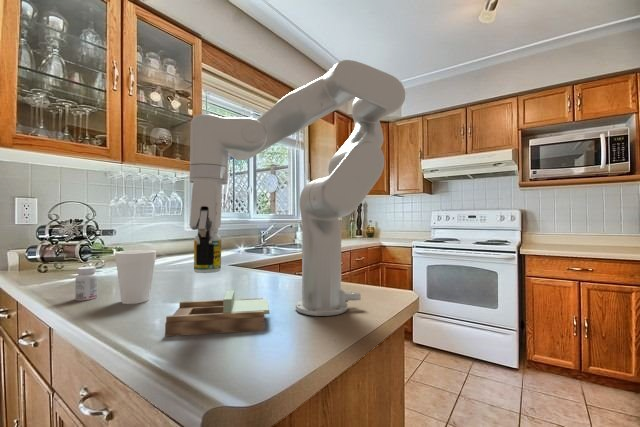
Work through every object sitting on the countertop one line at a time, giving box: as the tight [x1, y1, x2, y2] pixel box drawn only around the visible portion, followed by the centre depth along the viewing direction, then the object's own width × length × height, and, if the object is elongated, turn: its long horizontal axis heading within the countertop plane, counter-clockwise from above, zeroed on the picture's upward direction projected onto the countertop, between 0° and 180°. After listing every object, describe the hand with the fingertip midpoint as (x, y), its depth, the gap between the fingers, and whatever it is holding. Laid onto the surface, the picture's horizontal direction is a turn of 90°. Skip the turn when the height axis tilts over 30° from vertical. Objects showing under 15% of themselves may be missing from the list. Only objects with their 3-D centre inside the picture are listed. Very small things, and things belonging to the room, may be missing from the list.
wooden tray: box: [164, 297, 265, 337], centre depth 65 cm, size 18×12×3 cm, turn 102°
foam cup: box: [114, 249, 157, 305], centre depth 83 cm, size 10×9×13 cm
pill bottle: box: [74, 266, 98, 301], centre depth 85 cm, size 5×5×8 cm
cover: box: [222, 289, 270, 315], centre depth 66 cm, size 9×9×3 cm
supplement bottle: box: [193, 226, 222, 274], centre depth 65 cm, size 5×5×10 cm
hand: (207, 261), depth 65 cm, fingers closed on supplement bottle, 5 cm apart
